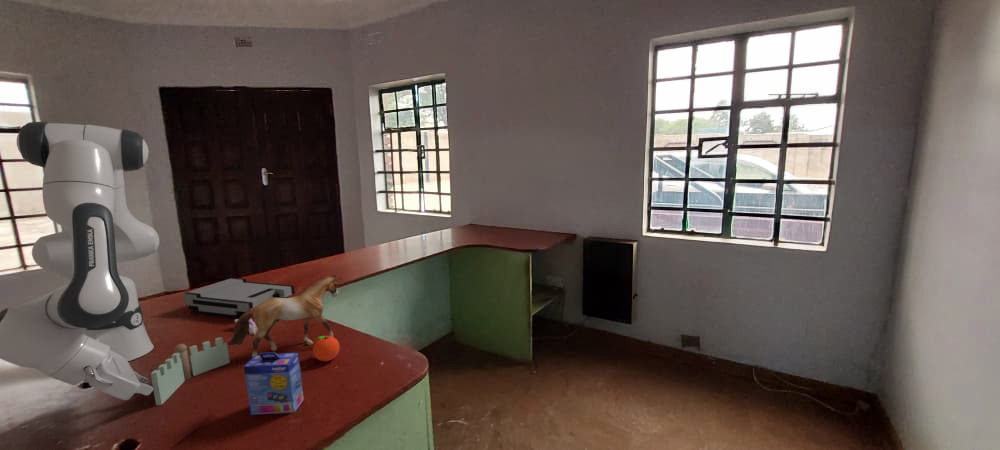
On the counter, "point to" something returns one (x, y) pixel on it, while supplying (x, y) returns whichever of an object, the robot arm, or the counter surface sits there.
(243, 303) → the game console
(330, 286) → the horse figurine
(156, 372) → the folding fence panel
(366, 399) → the counter surface
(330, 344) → the clementine
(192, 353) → the fence post and fixed panel
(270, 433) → the counter surface
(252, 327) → the rabbit figure
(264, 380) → the ink cartridge box
